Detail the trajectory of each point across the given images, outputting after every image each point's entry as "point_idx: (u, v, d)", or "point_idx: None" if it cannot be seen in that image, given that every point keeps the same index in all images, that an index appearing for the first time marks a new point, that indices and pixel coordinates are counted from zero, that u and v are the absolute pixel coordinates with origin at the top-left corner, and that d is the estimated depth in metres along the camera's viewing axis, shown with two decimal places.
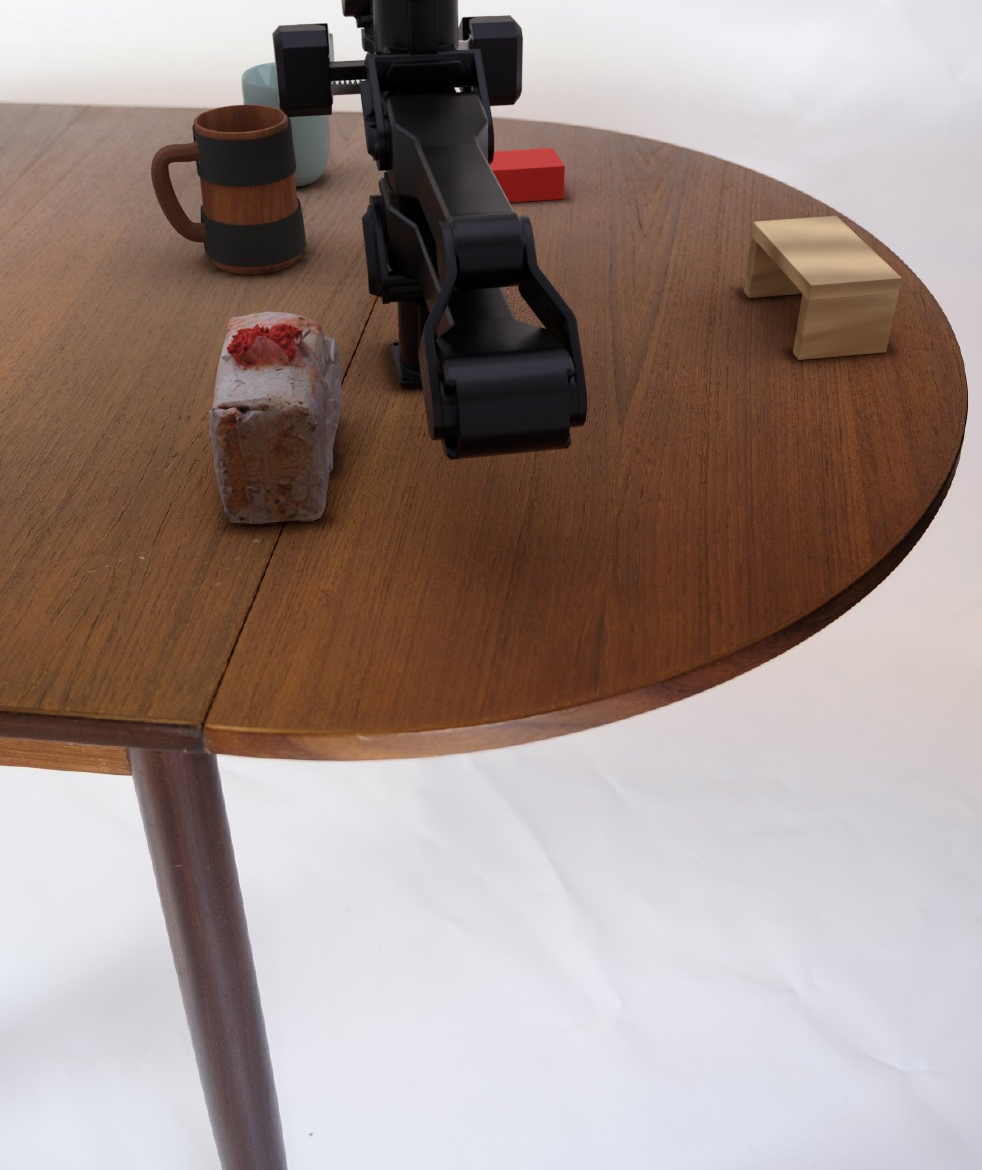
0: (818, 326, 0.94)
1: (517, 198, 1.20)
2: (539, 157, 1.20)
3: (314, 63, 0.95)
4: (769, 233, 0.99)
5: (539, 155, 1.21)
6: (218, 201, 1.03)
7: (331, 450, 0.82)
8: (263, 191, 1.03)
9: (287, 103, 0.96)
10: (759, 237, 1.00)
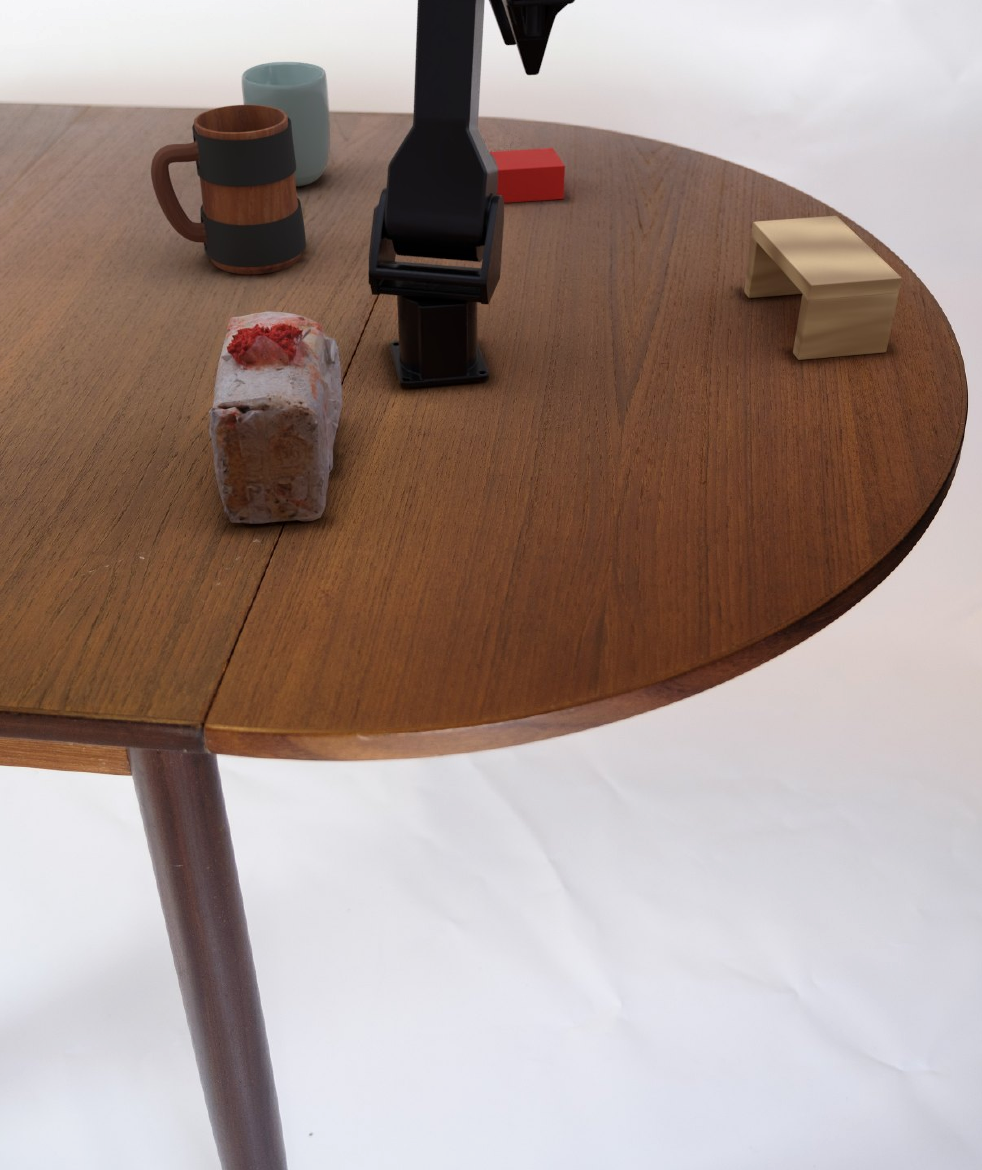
0: (818, 326, 0.94)
1: (517, 198, 1.20)
2: (539, 157, 1.20)
3: None
4: (769, 233, 0.99)
5: (539, 155, 1.21)
6: (218, 201, 1.03)
7: (331, 450, 0.82)
8: (263, 191, 1.03)
9: None
10: (759, 237, 1.00)
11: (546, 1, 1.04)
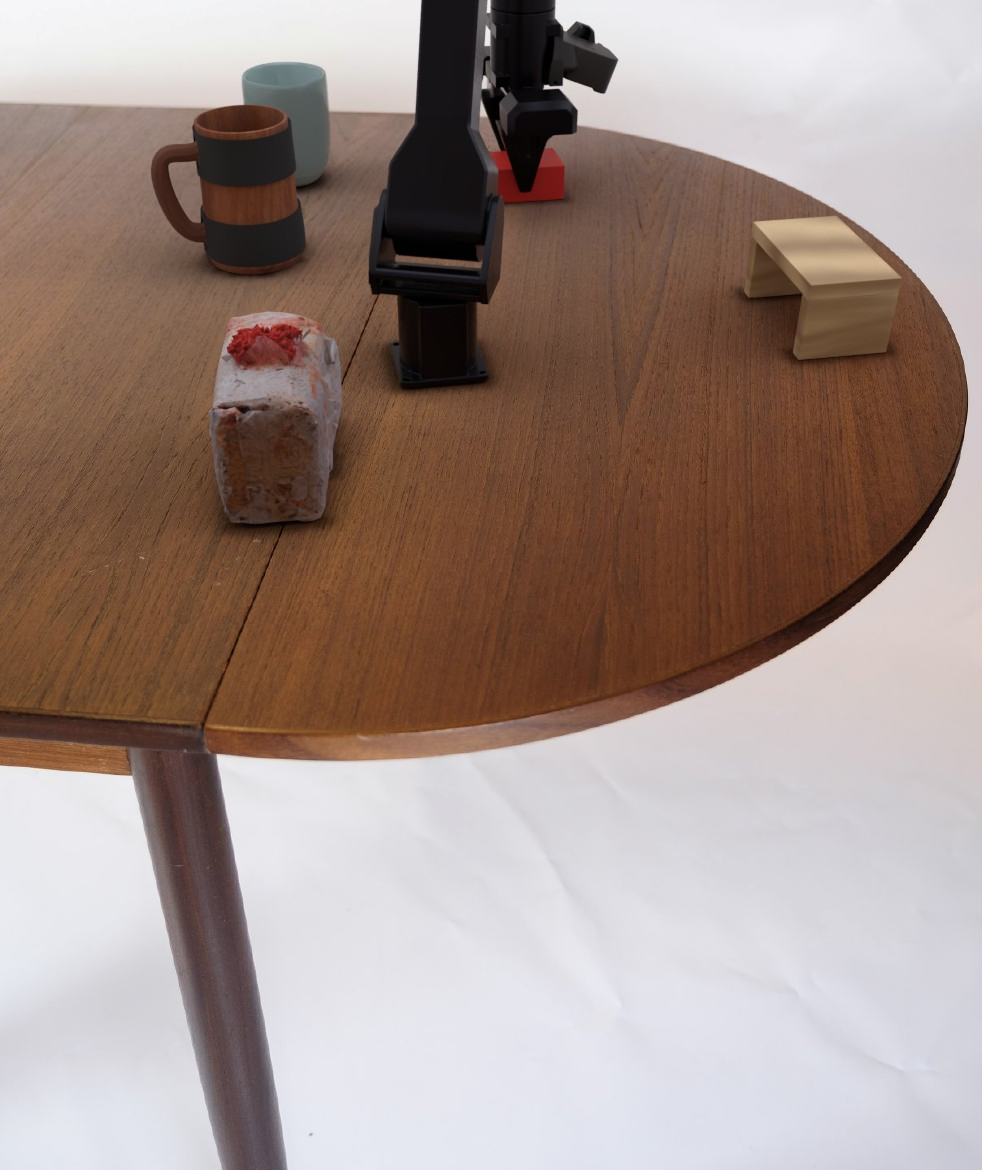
0: (818, 326, 0.94)
1: (517, 198, 1.20)
2: None
3: None
4: (769, 233, 0.99)
5: None
6: (218, 201, 1.03)
7: (331, 450, 0.82)
8: (263, 191, 1.03)
9: (484, 46, 1.22)
10: (759, 237, 1.00)
11: None
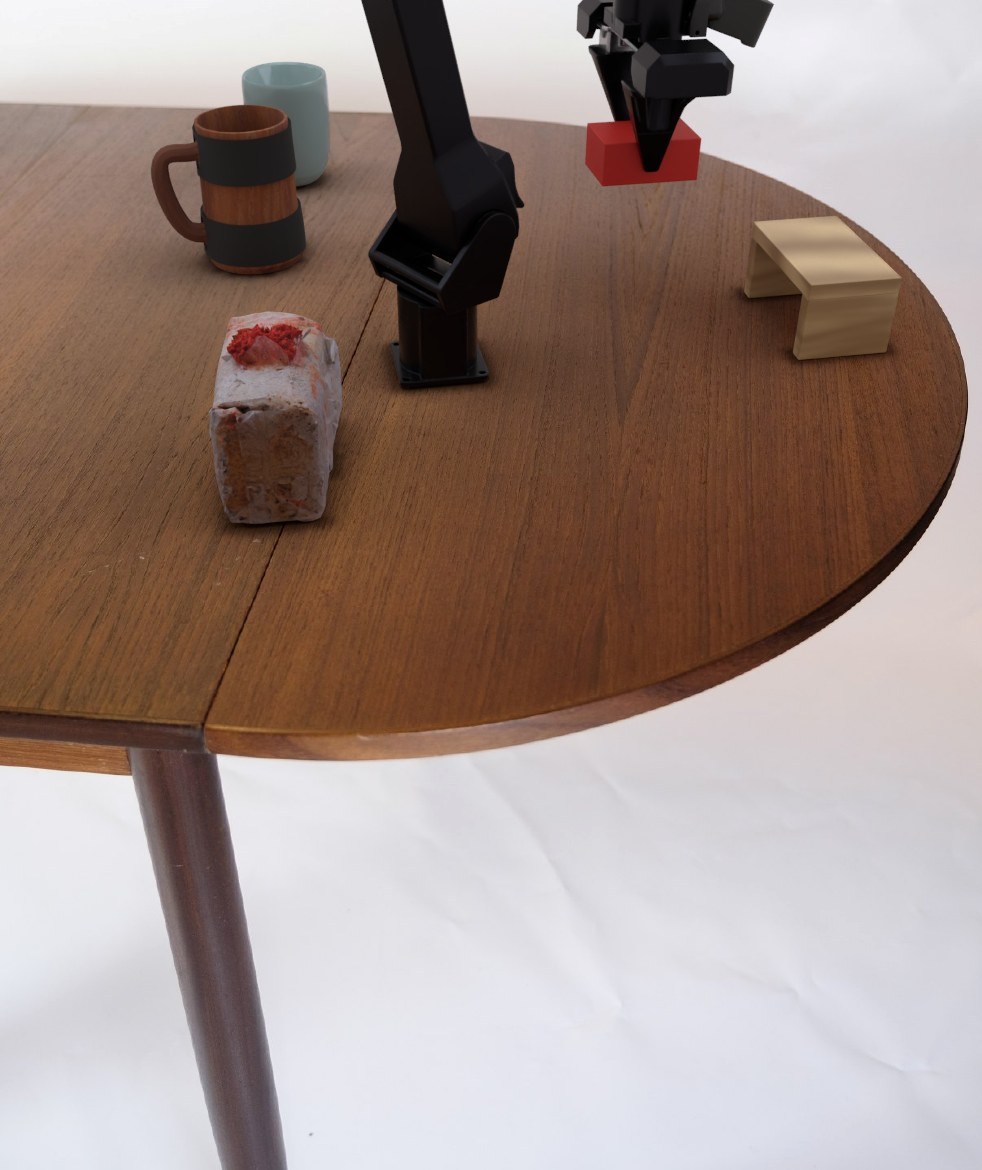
0: (818, 326, 0.94)
1: (641, 179, 0.96)
2: None
3: None
4: (769, 233, 0.99)
5: None
6: (218, 201, 1.03)
7: (331, 450, 0.82)
8: (263, 191, 1.03)
9: None
10: (759, 237, 1.00)
11: None
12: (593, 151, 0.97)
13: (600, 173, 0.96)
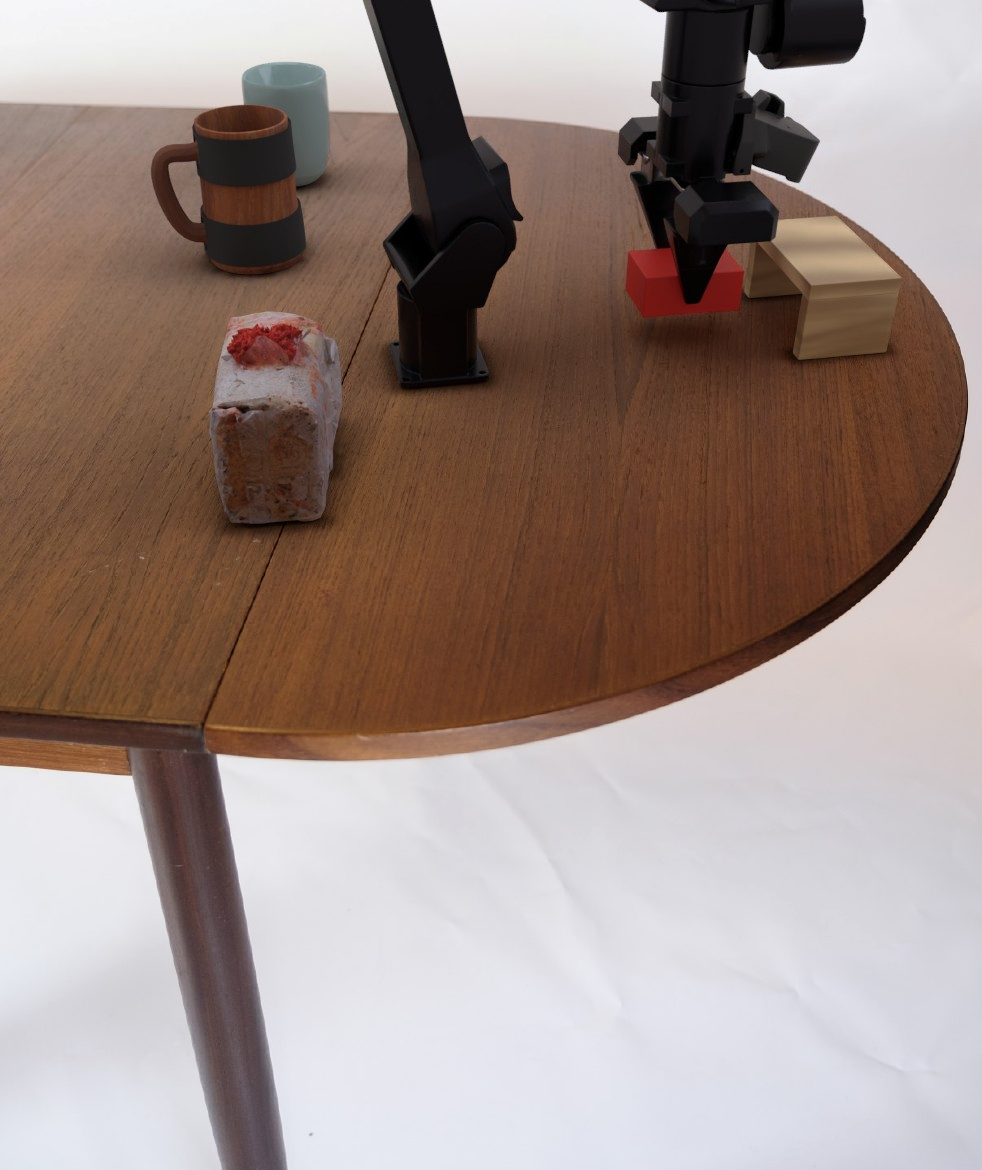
0: (818, 326, 0.94)
1: (682, 310, 0.95)
2: None
3: None
4: None
5: None
6: (218, 201, 1.03)
7: (331, 450, 0.82)
8: (263, 191, 1.03)
9: (637, 117, 0.97)
10: None
11: None
12: (634, 280, 0.96)
13: (641, 304, 0.95)
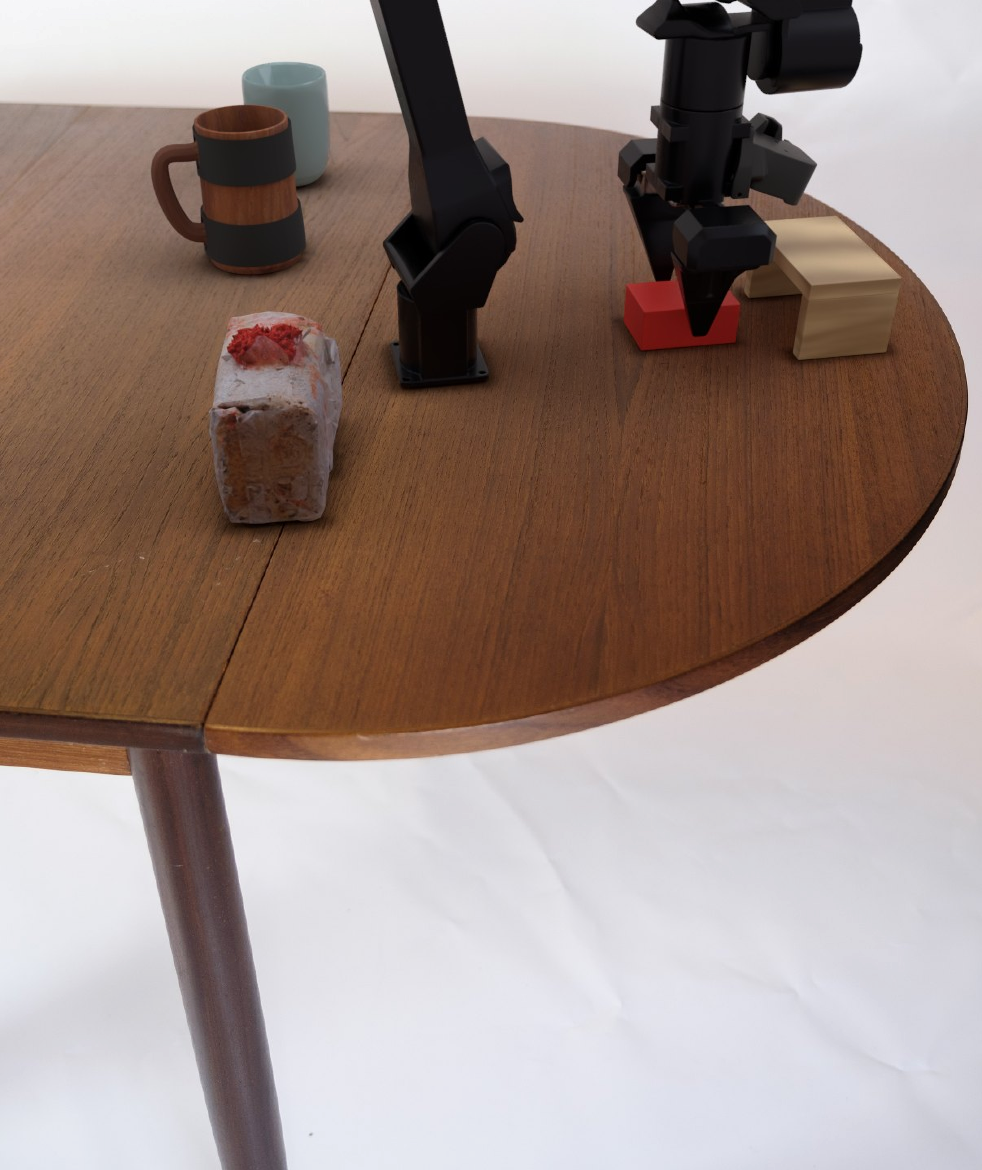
0: (818, 326, 0.94)
1: (679, 343, 0.97)
2: None
3: None
4: None
5: None
6: (218, 201, 1.03)
7: (331, 450, 0.82)
8: (263, 191, 1.03)
9: (636, 139, 0.98)
10: None
11: (729, 267, 0.87)
12: (632, 313, 0.98)
13: (639, 337, 0.96)
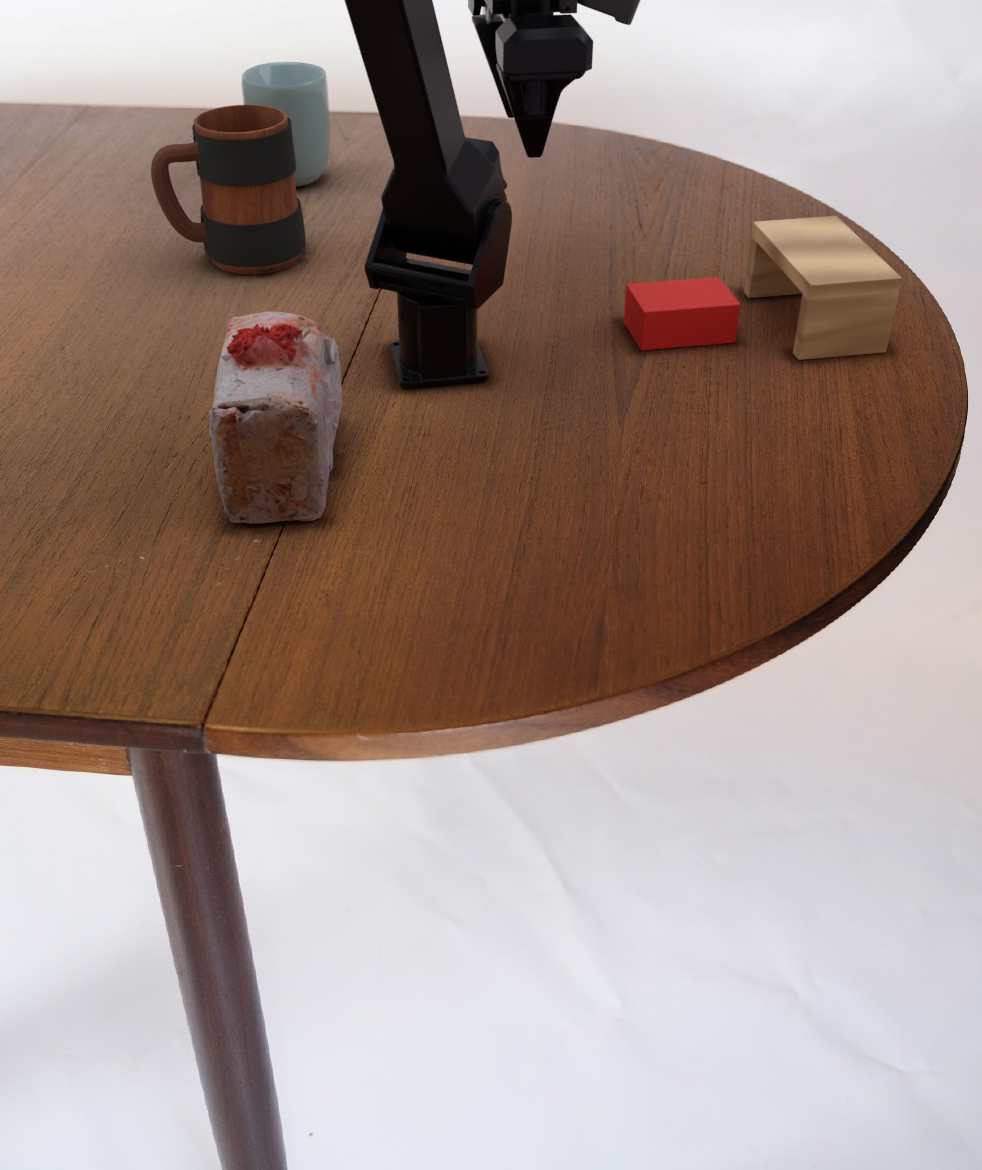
0: (818, 326, 0.94)
1: (679, 343, 0.97)
2: (705, 291, 0.97)
3: None
4: (769, 233, 0.99)
5: (705, 288, 0.98)
6: (218, 201, 1.03)
7: (331, 450, 0.82)
8: (263, 191, 1.03)
9: None
10: (759, 237, 1.00)
11: (549, 76, 0.88)
12: (632, 313, 0.98)
13: (639, 337, 0.96)
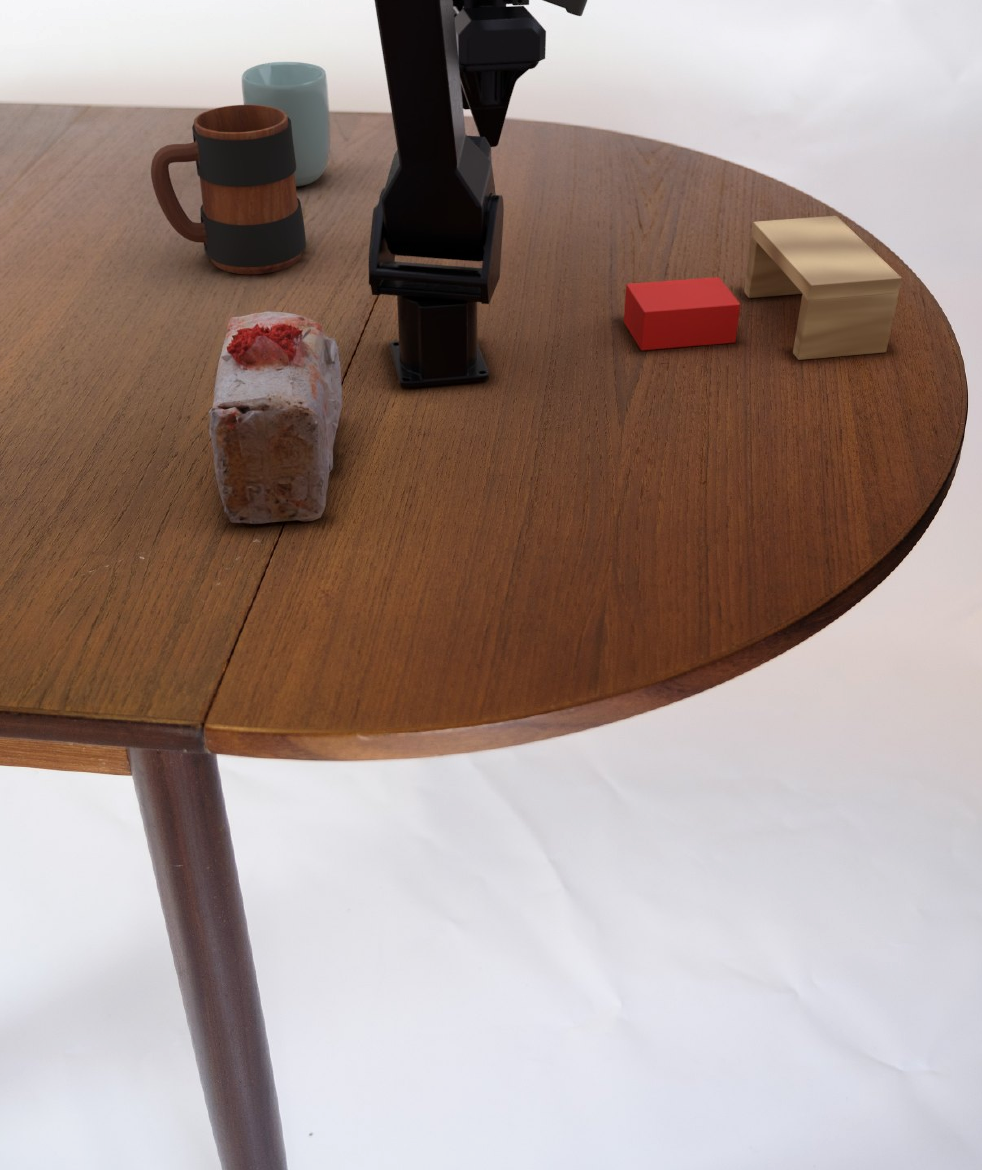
0: (818, 326, 0.94)
1: (679, 343, 0.97)
2: (705, 291, 0.97)
3: None
4: (769, 233, 0.99)
5: (705, 288, 0.98)
6: (218, 201, 1.03)
7: (331, 450, 0.82)
8: (263, 191, 1.03)
9: None
10: (759, 237, 1.00)
11: (503, 66, 0.90)
12: (632, 313, 0.98)
13: (639, 337, 0.96)
